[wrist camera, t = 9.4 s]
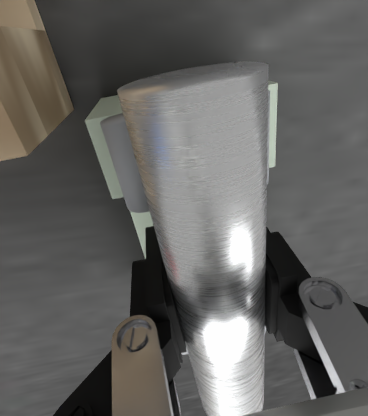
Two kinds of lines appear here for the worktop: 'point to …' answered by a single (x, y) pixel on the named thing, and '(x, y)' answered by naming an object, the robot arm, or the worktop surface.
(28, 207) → the worktop surface
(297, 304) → the robot arm
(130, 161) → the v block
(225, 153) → the axle
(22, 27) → the wooden cradle stand
